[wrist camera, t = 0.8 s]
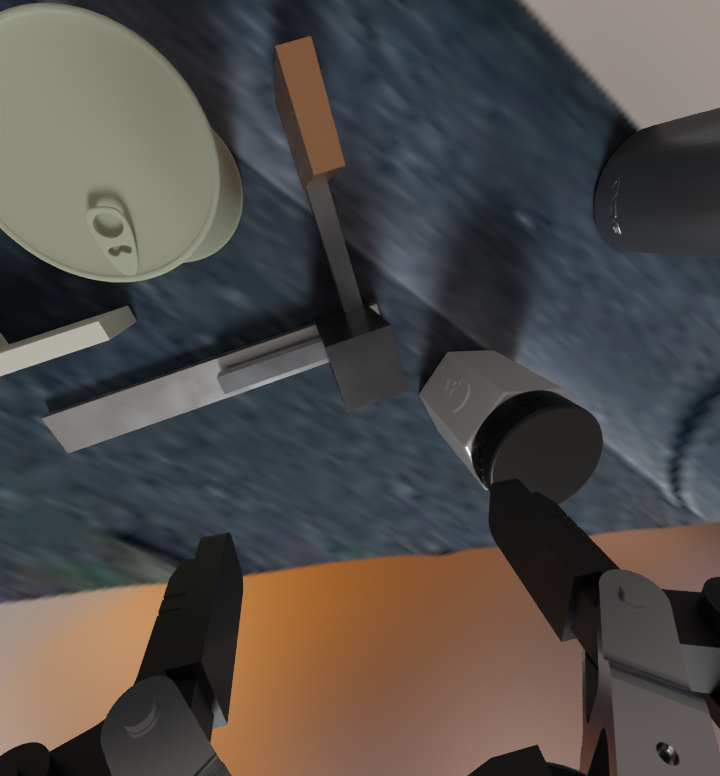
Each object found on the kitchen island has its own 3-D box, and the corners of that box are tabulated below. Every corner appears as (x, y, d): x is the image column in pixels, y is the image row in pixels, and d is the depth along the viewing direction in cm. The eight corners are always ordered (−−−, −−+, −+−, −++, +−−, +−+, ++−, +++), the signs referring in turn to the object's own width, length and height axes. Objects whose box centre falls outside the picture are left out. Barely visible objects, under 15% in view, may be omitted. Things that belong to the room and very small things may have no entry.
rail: (373, 301, 30) (376, 304, 29) (383, 338, 32) (386, 341, 31) (49, 412, 29) (41, 418, 28) (74, 446, 30) (68, 453, 29)
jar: (459, 327, 33) (549, 377, 22) (523, 369, 36) (631, 430, 25) (403, 412, 35) (460, 495, 24) (468, 444, 38) (545, 532, 27)
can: (119, 270, 26) (8, 300, 15) (63, 107, 22) (-137, -7, 12) (256, 253, 27) (243, 270, 17) (224, 97, 24) (182, -13, 13)
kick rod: (303, 93, 24) (315, 34, 16) (377, 352, 31) (408, 390, 24) (111, 150, 23) (35, 115, 16) (235, 402, 30) (222, 457, 23)
